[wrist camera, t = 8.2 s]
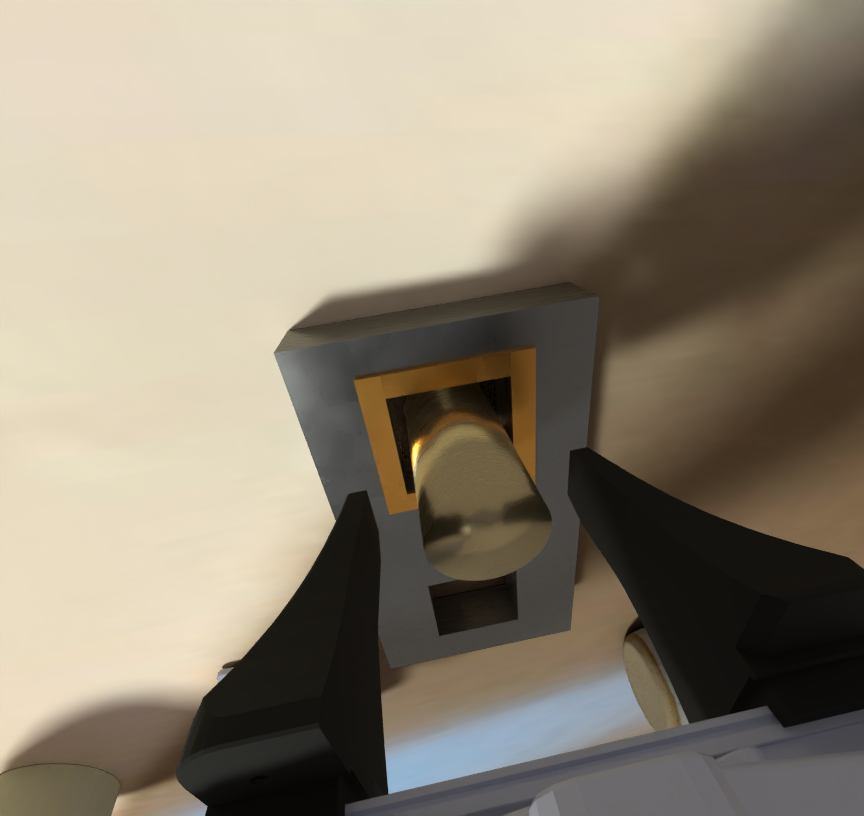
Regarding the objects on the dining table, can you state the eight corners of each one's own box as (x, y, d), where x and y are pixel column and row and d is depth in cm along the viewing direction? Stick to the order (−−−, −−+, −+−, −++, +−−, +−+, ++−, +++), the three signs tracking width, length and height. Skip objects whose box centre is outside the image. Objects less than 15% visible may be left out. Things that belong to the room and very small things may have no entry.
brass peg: (488, 434, 20) (551, 566, 13) (411, 449, 19) (432, 591, 12) (482, 363, 18) (553, 474, 11) (397, 379, 17) (413, 502, 10)
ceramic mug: (618, 615, 30) (688, 737, 23) (719, 591, 30) (816, 705, 23) (609, 678, 35) (664, 791, 29) (694, 657, 35) (767, 764, 29)
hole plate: (554, 595, 27) (571, 633, 25) (389, 630, 27) (390, 672, 24) (569, 282, 16) (602, 297, 14) (287, 330, 16) (272, 355, 13)
